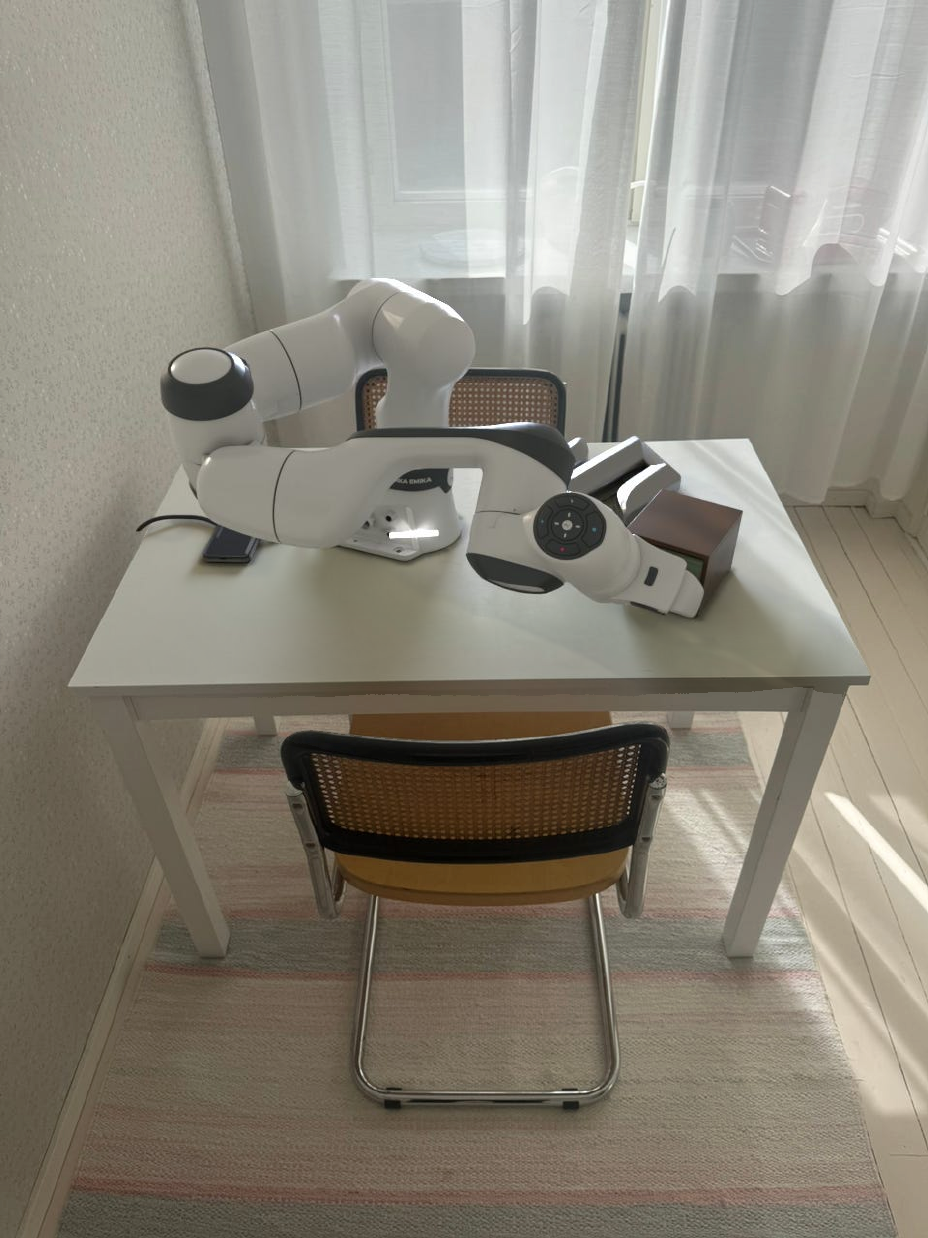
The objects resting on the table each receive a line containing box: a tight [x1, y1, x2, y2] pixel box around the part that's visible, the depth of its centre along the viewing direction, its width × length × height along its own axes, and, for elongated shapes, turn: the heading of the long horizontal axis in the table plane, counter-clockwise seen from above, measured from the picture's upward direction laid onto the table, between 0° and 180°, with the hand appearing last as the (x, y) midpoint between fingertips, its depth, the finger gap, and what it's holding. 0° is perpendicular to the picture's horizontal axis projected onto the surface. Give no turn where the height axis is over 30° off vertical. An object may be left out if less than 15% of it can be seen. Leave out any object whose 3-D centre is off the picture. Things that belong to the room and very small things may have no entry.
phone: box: [201, 524, 261, 564], centre depth 139 cm, size 8×1×15 cm
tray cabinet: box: [626, 489, 744, 618], centre depth 124 cm, size 14×13×11 cm
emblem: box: [566, 435, 682, 527], centre depth 148 cm, size 28×5×28 cm
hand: (632, 589), depth 110 cm, fingers closed
